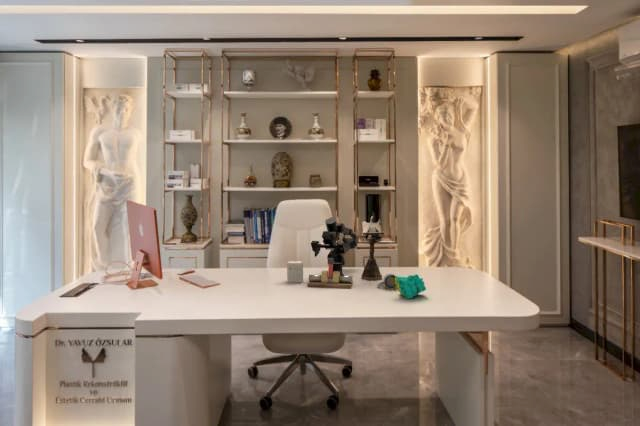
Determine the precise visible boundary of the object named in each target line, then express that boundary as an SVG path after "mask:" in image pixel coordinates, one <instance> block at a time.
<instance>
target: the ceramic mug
mask: <svg viewBox="0 0 640 426" xmlns="http://www.w3.org/2000/svg"><path fill="white" fill-rule="evenodd" d="M397 276H398V275H397ZM397 276H396V274H394V273H391V272H389V273H386V274H385V275H384V277H383V281H381V282H379V283H378V284H377V288H379V289H380V288H381V289H382V288H384V287H385V288H386V289H388V290H395V289H397V287H396V284H395V282H396V281H395V277H397Z"/></svg>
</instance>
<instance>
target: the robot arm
mask: <svg viewBox="0 0 640 426" xmlns="http://www.w3.org/2000/svg"><path fill="white" fill-rule="evenodd" d="M324 223H325V226H326V230H324V231H322V234H321V238H322V243H320V240H312V241H311V242H310V246H311V250H312V252H314V257H315V258H317V256H318V255H319V253H320V252H321V249H325V250H330V251H329V252H328V254H327V257H326V258H327V260H328V258H334V264H333V272H334V271H340V276H345V274H344V273H343V266H345V265H346V259H345V257H344V256H345V255H346V254H347V253H348V252H349V251H350V250H353V249H356V248H357V247H358V245H359V241H358V236H357V235H356V234H355V233H354V230H353V228H349V227H346V224H344V223H342V222H341V223H340V222H337V220H336V218H335V217H334V216H330V217H329V218H327V219H325V222H324ZM341 234H342V235H343V236H342V239H341V240H342V241H341V242H340V235H341ZM346 236H350V237H346ZM327 265H328V266H329V264H328V263H327Z"/></svg>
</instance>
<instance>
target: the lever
mask: <svg viewBox="0 0 640 426" xmlns="http://www.w3.org/2000/svg"><path fill="white" fill-rule="evenodd" d="M328 264H329V265H328ZM333 264H334V258H328V259H327V265H328V269H327V271H328V280H333Z"/></svg>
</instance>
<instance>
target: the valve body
mask: <svg viewBox="0 0 640 426" xmlns="http://www.w3.org/2000/svg"><path fill="white" fill-rule="evenodd" d="M320 273H321V274H308V283H309V282H321V283H328V280H329V279H328V270H322V271H321V272H320ZM352 281H353V275H343V276H340V271H334V272H333V283H338V284H339V283H352Z"/></svg>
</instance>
